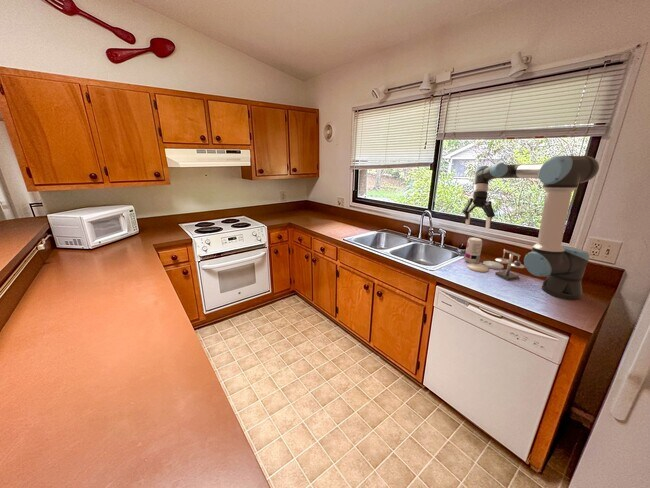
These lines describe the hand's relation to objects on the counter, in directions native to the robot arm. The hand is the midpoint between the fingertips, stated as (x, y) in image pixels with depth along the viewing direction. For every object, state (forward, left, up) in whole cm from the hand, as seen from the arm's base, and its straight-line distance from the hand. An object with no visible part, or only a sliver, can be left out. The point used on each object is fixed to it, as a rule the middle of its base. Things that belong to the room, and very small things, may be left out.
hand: (477, 226), depth 161 cm
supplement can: (+2, -3, -24) cm, 24 cm away
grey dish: (-8, -9, -24) cm, 27 cm away
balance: (-22, -3, -24) cm, 32 cm away
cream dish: (-8, +3, -24) cm, 25 cm away
